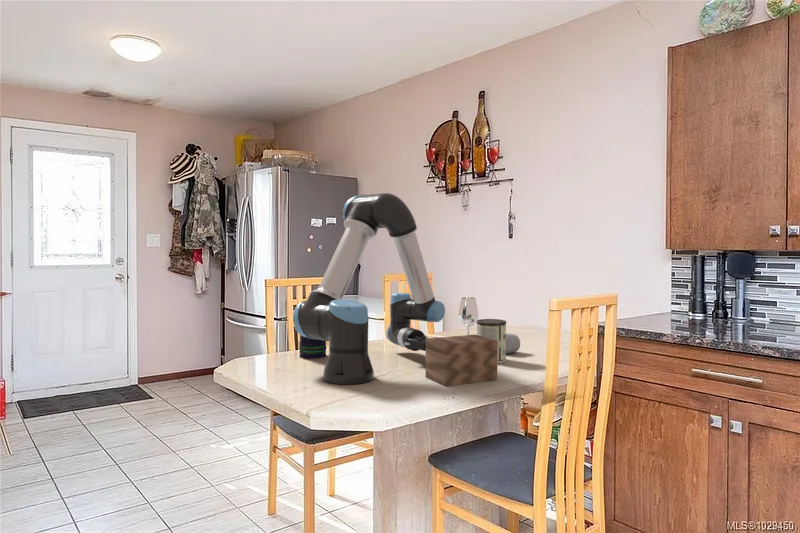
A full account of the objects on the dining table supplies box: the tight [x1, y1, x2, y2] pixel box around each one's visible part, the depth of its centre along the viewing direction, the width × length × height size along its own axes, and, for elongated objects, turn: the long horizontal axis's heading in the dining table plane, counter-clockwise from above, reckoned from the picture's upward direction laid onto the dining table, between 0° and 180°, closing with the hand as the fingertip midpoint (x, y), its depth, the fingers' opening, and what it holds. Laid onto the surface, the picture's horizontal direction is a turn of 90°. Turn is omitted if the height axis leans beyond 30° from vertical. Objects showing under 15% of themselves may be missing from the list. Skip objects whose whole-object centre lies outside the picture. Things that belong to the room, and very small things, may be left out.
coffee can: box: [476, 318, 507, 364], centre depth 195 cm, size 10×10×14 cm
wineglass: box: [457, 296, 479, 335], centre depth 218 cm, size 8×8×20 cm
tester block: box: [425, 334, 498, 387], centre depth 168 cm, size 18×12×12 cm, turn 115°
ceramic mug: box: [506, 333, 521, 355], centre depth 210 cm, size 11×8×8 cm
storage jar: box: [298, 334, 327, 360], centre depth 201 cm, size 10×10×15 cm
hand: (444, 350), depth 177 cm, fingers closed
